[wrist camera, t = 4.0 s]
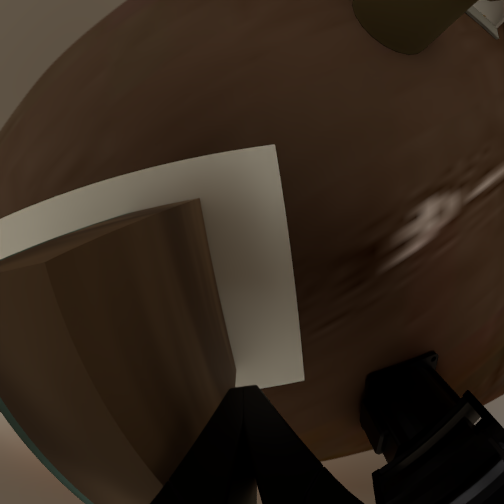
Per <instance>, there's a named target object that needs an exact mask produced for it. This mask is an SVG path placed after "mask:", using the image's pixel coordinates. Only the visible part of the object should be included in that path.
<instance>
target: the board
mask: <svg viewBox="0 0 504 504" xmlns="http://www.w3.org/2000/svg"><path fill="white" fill-rule="evenodd" d="M196 198H200V202H201V208H202V213H203V219H204V224H205V229H206V234H207V240H208V245H209V250H210V255H211V260H212V265H213V269H214V274H215V279H216V284H217V288H218V293H219V297H220V302H221V307H222V311H223V315H224V320H225V324H226V329H227V333H228V337H229V341H230V345H231V350H232V354H233V358H234V362H235V366H236V383H235V387H241V386H249V385H257V386H258V387H259V388H260V389H261V388H267V387H273V386H279V385H284V384H289V383H294V382H299V381H304V369H303V358H302V347H301V336H300V326H299V317H298V307H297V298H296V290H295V281H294V273H293V265H292V257H291V249H290V241H289V234H288V227H287V220H286V213H285V206H284V199H283V192H282V186H281V179H280V173H279V167H278V160H277V154H276V148H275V144H274V145H267V146H259V147H252V148H246V149H239V150H233V151H227V152H222V153H216V154H211V155H206V156H200V157H195V158H191V159H186V160H181V161H177V162H172V163H168V164H164V165H159V166H155V167H151V168H147V169H143V170H139V171H136V172H132V173H128V174H125V175H121V176H118V177H114V178H111V179H107V180H104V181H101V182H97V183H94V184H91V185H88V186H85V187H82V188H79V189H76V190H73V191H70V192H67V193H64V194H61V195H59V196H56V197H53V198H50V199H48V200H45V201H42V202H40V203H37V204H35V205H32V206H30V207H27V208H25V209H22V210H20V211H18V212H15V213H13V214H11V215H8V216H6V217H4V218H2V219H0V260H1V259H3V258H5V257H8V256H10V255H12V254H15V253H17V252H20V251H22V250H24V249H27V248H29V247H32V246H34V245H37V244H40V243H42V242H45V241H47V240H50V239H53V238H55V237H58V236H61V235H64V234H66V233H69V232H72V231H75V230H78V229H80V228H83V227H86V226H89V225H92V224H95V223H98V222H101V221H104V220H107V219H110V218H114V217H117V216H120V215H123V214H126V213H131V212H135V211H139V210H144V209H148V208H153V207H157V206H162V205H166V204H171V203H176V202H181V201H186V200H191V199H196Z"/></svg>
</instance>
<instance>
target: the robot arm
mask: <svg viewBox="0 0 504 504" xmlns="http://www.w3.org/2000/svg"><path fill="white" fill-rule="evenodd" d="M437 360H438V354H437V353H436V352H430V353H428V354H425V355H423V356H420V357H418V358H415V359H413V360H410V361H407V362H405V363H402V364H399V365H396V366H393V367H390V368H387V369H384V370H381V371H378V372H375V373H372V374H370V375H369V376H368V377H367V379H366V388H365V398H364V399H363V400H362V404H361V413H360V422H361V427H362V429H363V430H365V433H366V435H367V437H368V439H369V441H370V443H371V445H372V447H373V449H374V451H375V453H376V454H381V453H383V455H384V457H385V459H386V461H387V463H388V464H386V465H385V466H383V467H382V468H381V469H378V470H376V471H374V472H373V473H372V479H373V487H374V494H375V500H376V504H504V428H503V427H502V426H501V425H500V424H499V423H498V422H497V420H496V419H495V418H494V417H493V416H492V415H491V414H490V413H489V412H488V411H487V409H486V408H485V407H484V406H483V405H482V404H481V403H480V402H479V401H478V400H477V399H476V398H475V397H474V395H473V394H472V393H471V392H470V391H469V390H467V391H466V392H465V393H464V394H463V395H462V396H463V397H462V398H460V397H459V396H458V395H457V394H456V393H455V391H454V390H453V389H452V388H451V387H450V386H449V385H448V384H447V383H446V382H445V380H444V379H443V378H442V377H441V376H440V375H439V374H438V373H437V372H436V371H435V369H436V365H437ZM373 379H374V380H373ZM480 417H481V420H480V421H479V422H478V423H477V424H476V425H474V423H475V422H476V421H477V420H478V419H479V418H480ZM169 481H170V482H169ZM169 481H167V482H166V483H165V485H164V486H163V487H162V489H161V490H160V491H159V493H158V494H157V495H156V496H155V498H154V499H153V500H152V501H151V503H150V504H257V486H258V490H259V493H260V497H261V500H262V504H364V503H363V502H362V501H360V500H359V499H358V498H357V497H355V496H354V495H353V494H351V493H350V492H349V491H348V490H347V489H346V488H345V487H344V486H343V485H342V484H341V483H340V482H339V481H338V480H337V479H335V477H334V476H333V475H332V474H331V473H330V472H329V471H328V470H327V469H326V468H325V467H323V465H322V464H321V462H320V461H319V460H318V459H317V458H316V457H315V456H314V454H313V453H312V452H311V451H310V450H309V449H308V447H307V446H306V445H305V444H304V443H303V442H302V440H301V439H300V438H299V437H298V436H297V434H296V433H295V432H294V431H293V430H292V428H291V427H290V426H289V425H288V424H287V422H286V421H285V420H284V419H283V417H282V416H281V415H280V414H279V412H278V411H277V410H276V409H275V407H274V406H273V405H272V404H271V402H270V401H269V400H268V398H267V397H266V396H265V395H264V393H263V392H262V391H261V389H260V388H259V387H258V386H257V385H249V386H241V387H233V388H230V389H229V390H228V391H227V393H226V395H225V396H224V398H223V399H222V401H221V402H220V404H219V406H218V407H217V409H216V410H215V412H214V413H213V415H212V416H211V418H210V420H209V421H208V423H207V424H206V426H205V427H204V429H203V430H202V432H201V433H200V435H199V436H198V438H197V439H196V441H195V442H194V444H193V445H192V446H191V448H190V449H189V451H188V452H187V454H186V455H185V457H184V458H183V460H182V461H181V462H180V464H179V465H178V467H177V468H176V470H175V471H174V472H173V474H172V475H171V477H170V478H169Z"/></svg>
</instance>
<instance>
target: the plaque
mask: <svg viewBox="0 0 504 504" xmlns="http://www.w3.org/2000/svg"><path fill="white" fill-rule="evenodd" d="M235 383H236V366H235V362H234V358H233V354H232V350H231V345H230V341H229V337H228V333H227V329H226V324H225V320H224V315H223V311H222V307H221V302H220V297H219V293H218V288H217V284H216V279H215V274H214V269H213V265H212V260H211V255H210V250H209V245H208V240H207V234H206V229H205V224H204V219H203V213H202V208H201V202H200V198H196V199H191V200H186V201H181V202H176V203H171V204H166V205H162V206H157V207H153V208H148V209H144V210H139V211H135V212H131V213H126V214H123V215H120V216H117V217H114V218H110V219H107V220H104V221H101V222H98V223H95V224H92V225H89V226H86V227H83V228H80V229H78V230H75V231H72V232H69V233H66V234H64V235H61V236H58V237H55V238H53V239H50V240H47V241H45V242H42V243H40V244H37V245H34V246H32V247H29V248H27V249H24V250H22V251H20V252H17V253H15V254H12V255H10V256H8V257H5V258H3V259H1V260H0V411H1V413H2V414H3V416H4V417H5V418H6V420H7V421H8V423H10V425H11V426H12V428H13V429H14V431H15V432H16V433H17V434H18V436H19V437H20V438H21V439H22V441H23V442H24V443H25V444H26V445H27V447H28V448H29V449H30V450H31V451H32V453H34V455H35V456H36V457H37V458H38V459H39V460H40V461H41V463H42V464H43V465H44V466H45V467H46V468H47V469H48V470H49V471H50V472H51V473H52V474H53V475H54V476H55V477H56V478H57V479H58V480H59V481H60V482H61V483H62V484H63V485H64V486H66V487H67V488H68V489H69V490H70V491H71V492H72V493H73V494H74V495H76V496H77V497H78V498H79V499H80V500H81V501H83V502H84V503H85V504H150V503H151V501H152V500H153V499H154V498H155V496H156V495H157V494H158V493H159V491H160V490H161V489H162V487H163V486H164V485H165V483H166V482H167V481H169V478H170V477H171V475H172V474H173V472H174V471H175V470H176V468H177V467H178V465H179V464H180V462H181V461H182V460H183V458H184V457H185V455H186V454H187V452H188V451H189V449H190V448H191V446H192V445H193V444H194V442H195V441H196V439H197V438H198V436H199V435H200V433H201V432H202V430H203V429H204V427H205V426H206V424H207V423H208V421H209V420H210V418H211V416H212V415H213V413H214V412H215V410H216V409H217V407H218V406H219V404H220V402H221V401H222V399H223V398H224V396H225V395H226V393H227V391H228V390H229V389H230V388H233V387H235ZM169 482H170V481H169Z"/></svg>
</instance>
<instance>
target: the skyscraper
mask: <svg viewBox="0 0 504 504" xmlns="http://www.w3.org/2000/svg"><path fill="white" fill-rule="evenodd" d="M465 13H467V14H468V15H469V16H470V17H471V18H473V19H474V20H475V21H476V22H477V23H479V24H480V25H481V26H482V27H483V28H484V29H485V30H486V31H487V32H489V33H490V34H491V35H492V36H493V37H494V38H495V39H499V37H498V32H497V28H498V27H499V26H500V25H501V24H502V23H503V22H504V0H500V1H487V0H478V1H477V2H476V3H475V4H474V5H473V6H471V7H470V8H469V9H468V10H467V11H466V12H465Z"/></svg>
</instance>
